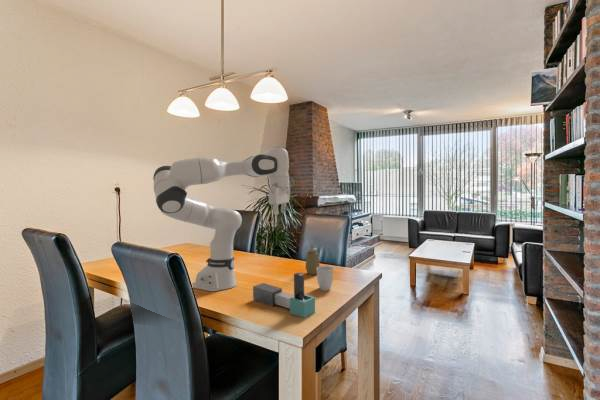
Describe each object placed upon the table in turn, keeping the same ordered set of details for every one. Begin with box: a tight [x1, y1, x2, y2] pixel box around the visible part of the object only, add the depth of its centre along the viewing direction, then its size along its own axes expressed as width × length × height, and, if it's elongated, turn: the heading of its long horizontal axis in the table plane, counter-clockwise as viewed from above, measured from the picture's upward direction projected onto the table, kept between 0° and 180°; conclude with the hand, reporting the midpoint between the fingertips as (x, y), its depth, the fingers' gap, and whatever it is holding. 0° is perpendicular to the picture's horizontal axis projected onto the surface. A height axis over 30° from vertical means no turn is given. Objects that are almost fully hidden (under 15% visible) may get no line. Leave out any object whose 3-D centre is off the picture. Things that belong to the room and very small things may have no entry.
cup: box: [316, 265, 334, 291], centre depth 146 cm, size 8×8×10 cm
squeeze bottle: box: [305, 241, 321, 276], centre depth 171 cm, size 8×8×18 cm
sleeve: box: [252, 282, 283, 307], centre depth 131 cm, size 12×6×6 cm, turn 51°
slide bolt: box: [273, 272, 308, 310], centre depth 122 cm, size 17×4×14 cm, turn 51°
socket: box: [289, 293, 316, 319], centre depth 118 cm, size 7×7×6 cm
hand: (279, 213), depth 138 cm, fingers open, 8 cm apart
